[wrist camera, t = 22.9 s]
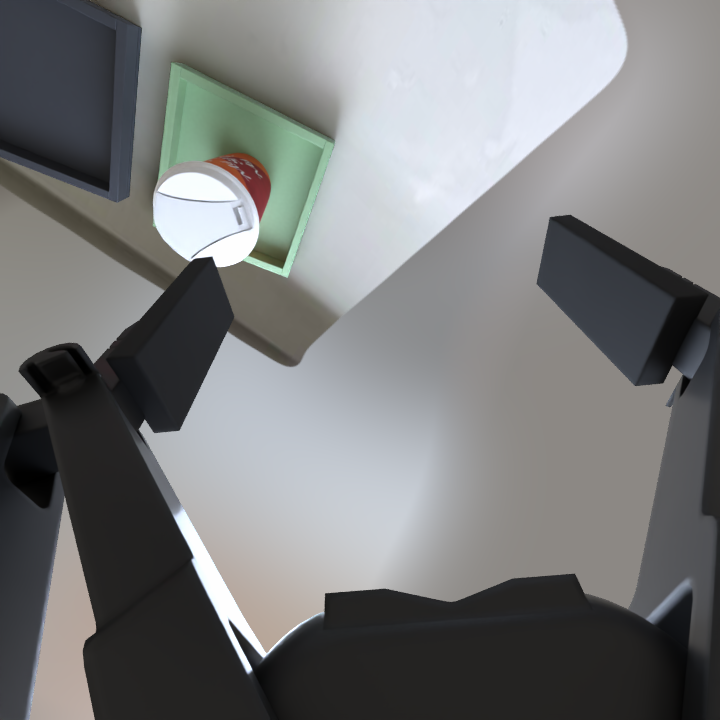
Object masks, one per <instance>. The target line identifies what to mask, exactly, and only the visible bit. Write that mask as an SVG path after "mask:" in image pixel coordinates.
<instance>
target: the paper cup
mask: <svg viewBox="0 0 720 720" xmlns="http://www.w3.org/2000/svg"><path fill="white" fill-rule="evenodd" d="M270 193H271V182H270V178H269V175H268V173H267V171H266V169H265V168H264V166H263V165H262V164H261V163H260V162H259V161H258V160H257V159H255V158H254V157H252V156H250V155H248V154H244V153H232V154H227V155H223V156H220V157H216V158H213V159H210V160H206V161H187V162H182V163H179V164H176V165H174V166H172V167H171V168H169V169H168V170H167V171H166V172H164V173H163V175H162V176H161V177H160V179H159V180H158V182H157V184H156V187H155V191H154V195H153V209H154V222H155V225H156V227H157V229H158V231H159V233H160V235H161V236H162V238H163V239H164V240H165V241H166V242H167V243H168V244H169V245H170V246H171V247H172V248H173V249H174V250H175V251H176V252H177V253H179V254H180V255H181V256H183V257H184V258H186V259H187V260H189V261H190V262H191V261H192V260H193V259H195V258H203V257H212V256H213V259H214V262H215V264H216V267H222V266H229V265H232V264H235V263H237V262H240V261H241V260H243V259H244V258H245V257H246V256H247V255H248V254H249V253H250V252H251V251H252V249H253V248H254V246H255V244H256V242H257V239H258V235H259V223H260V221H261V218H262V216H263V213H264V211H265V208H266V206H267V203H268V200H269V197H270Z"/></svg>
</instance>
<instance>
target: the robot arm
mask: <svg viewBox="0 0 720 720" xmlns="http://www.w3.org/2000/svg"><path fill="white" fill-rule="evenodd" d="M537 285H538V286H539V287H540V288H541V289H542V290H543V291H544V292H545V293H546V294H547V295H548V296H549V297H550V298H551V299H552V300H553V301H554V302H555V303H556V304H557V305H558V306H559V307H560V309H561V310H562V311H563V312H564V313H565V314H566V315H567V316H568V317H569V318H570V319H571V320H572V321H573V322H574V323H575V324H576V325H577V326H578V327H579V328H580V329H581V330H582V331H583V332H584V333H585V334H586V335H587V337H588V338H589V339H590V340H591V341H592V342H593V343H594V344H595V345H596V346H597V347H598V348H599V349H600V350H601V351H602V352H603V353H604V354H605V355H606V356H607V357H608V358H609V359H610V360H611V361H612V363H614V364H615V366H616V367H617V368H618V369H619V370H620V371H621V372H622V373H623V374H624V375H625V376H626V377H627V378H628V379H629V380H630V381H631V382H632V383H633V384H634V385H635V386H640V385H650V384H660V383H664V381H665V379H666V377H667V375H668V373H669V371H670V369H671V367H672V365H673V366H674V367H675V368H677V369H678V370H679V371H680V372H681V373H682V374H683V375H682V377H681V379H680V381H679V382H678V384H677V386H676V388H675V390H674V391H673V393H672V395H671V397H670V399H669V400H668V403H667V404H666V406H668V407H671V406H672V405H673V407H672V412H671V417H670V422H669V427H668V432H667V437H666V443H665V448H664V452H663V457H662V462H661V467H660V473H659V478H658V482H657V488H656V493H655V498H654V503H653V508H652V513H651V518H650V523H649V528H648V533H647V538H646V543H645V548H644V554H643V558H642V563H641V568H640V573H639V579H638V583H637V588H636V592H635V595H634V598H633V600H632V602H631V604H630V606H629V609H626V608H624V607H622V606H619V605H617V604H615V603H613V602H610V601H608V600H605V599H602V598H599V597H596V596H592V595H589V594H585V593H584V592H583V590H582V588H581V586H580V583H579V582H578V579H577V577H576V575H575V574H566V575H553V576H540V577H527V578H515V579H511V580H508V581H506V582H503V583H501V584H499V585H496V586H493V587H491V588H488V589H486V590H483V591H481V592H478V593H476V594H474V595H471V596H469V597H466V598H464V599H461V600H458V601H456V602H446V601H440V600H436V599H431V598H427V597H421V596H417V595H412V594H408V593H403V592H398V591H393V590H389V589H376V590H363V591H350V592H338V593H326V594H325V611H324V612H322V613H320V614H317V615H315V616H313V617H312V618H310V619H308V620H306V621H304V622H303V623H301V624H299V625H298V626H297V627H296V628H294V629H293V630H291V631H290V632H289V633H287V634H286V635H285V636H284V637H283V638H282V639H281V640H280V641H279V642H278V643H277V644H275V645H274V646H273V648H272V649H271V650H270V651H269V652H268V653H267V654H266V653H265V651H264V649H263V648H262V646H261V644H260V643H259V641H258V640H257V638H256V636H255V635H254V633H253V632H252V630H251V629H250V627H249V626H248V624H247V622H246V621H245V619H244V617H243V615H242V614H241V612H240V610H239V608H238V606H237V605H236V603H235V601H234V599H233V597H232V595H231V594H230V592H229V590H228V588H227V587H226V585H225V583H224V581H223V579H222V578H221V576H220V574H219V572H218V570H217V569H216V567H215V565H214V563H213V561H212V559H211V558H210V556H209V554H208V552H207V550H206V549H205V547H204V545H203V543H202V541H201V539H200V538H199V536H198V534H197V533H196V530H195V529H194V527H193V525H192V524H191V521H190V520H189V518H188V516H187V514H186V512H185V511H184V509H183V507H182V505H181V503H180V502H179V500H178V498H177V496H176V495H175V492H174V491H173V489H172V487H171V485H170V483H169V482H168V480H167V478H166V476H165V475H164V473H163V471H162V469H161V467H160V465H159V464H158V462H157V460H156V458H155V456H154V455H153V453H152V451H151V450H150V447H149V445H148V444H147V442H146V440H145V438H144V437H143V435H142V434H141V432H140V431H139V428H140V426H141V424H142V423H143V421H144V420H146V421H147V423H148V424H149V426H150V427H151V429H152V430H153V432H154V433H160V432H170V431H179V430H180V428H181V426H182V424H183V422H184V420H185V418H186V416H187V414H188V412H189V410H190V408H191V405H192V403H193V401H194V399H195V397H196V395H197V393H198V391H199V389H200V387H201V385H202V383H203V381H204V378H205V377H206V375H207V372H208V370H209V368H210V366H211V364H212V362H213V360H214V358H215V356H216V354H217V352H218V349H219V348H220V345H221V343H222V341H223V339H224V337H225V335H226V333H227V331H228V329H229V327H230V325H231V323H232V321H233V319H234V314H233V312H232V309H231V306H230V303H229V301H228V298H227V295H226V292H225V289H224V287H223V284H222V281H221V278H220V276H219V273H218V270H217V267H216V264H215V262H214V259H213V256H212V257H203V258H195V259H193V260H192V261H191V262H190V263H189V264H188V266H187V267H186V268H185V269H184V270H183V271H182V272H181V274H180V275H179V276H178V277H177V278H176V279H175V280H174V282H173V283H172V284H171V285H170V286H169V287H168V288H167V289H166V291H165V292H164V293H163V294H162V295H161V296H160V297H159V299H158V300H157V301H156V302H155V303H154V304H153V306H152V307H151V308H150V309H149V310H148V311H147V312H146V313H145V315H144V316H143V317H142V318H141V319H140V320H139V321H137V322H136V323H134V324H133V325H131V326H130V327H128V328H127V329H125V330H124V331H123V332H122V333H121V335H120V336H119V337H118V338H117V341H114V342H113V343H112V345H111V346H110V349H107V350H106V351H105V352H104V353H103V354H102V356H101V357H100V358H99V359H98V360H97V361H96V362H95V363H94V364H93V363H92V361H91V360H90V358H89V357H88V356H87V354H86V353H85V351H84V350H83V348H82V347H81V346H80V345H78V344H77V343H65V344H59V345H56V346H53V347H50V348H47V349H45V350H43V351H40V352H39V353H36V354H35V355H33V356H32V357H30V358H28V359H27V360H26V361H25V362H24V363H23V364H22V365H21V366H20V368H19V372H20V374H21V375H22V376H23V377H24V378H25V379H26V380H27V382H28V383H29V384H30V385H31V386H32V388H33V389H34V390H35V391H36V392H37V393H38V394H39V396H40V397H41V399H39V400H36V401H33V402H29V403H26V404H22V405H19V406H16V405H15V404H14V402H13V401H12V400H11V399H10V398H9V397H8V396H7V395H5V394H0V720H29V717H30V711H31V705H32V698H33V691H34V686H35V679H36V673H37V667H38V660H39V654H40V648H41V641H42V635H43V629H44V623H45V616H46V610H47V603H48V597H49V591H50V585H51V578H52V572H53V565H54V559H55V553H56V547H57V540H58V534H59V528H60V521H61V514H62V509H63V502H64V496H65V498H66V503H67V507H68V511H69V515H70V519H71V523H72V527H73V531H74V535H75V539H76V543H77V547H78V551H79V556H80V560H81V564H82V568H83V572H84V576H85V580H86V584H87V588H88V592H89V597H90V601H91V605H92V609H93V613H94V617H95V621H96V633H95V634H93V635H92V636H91V637H89V638H88V639H87V640H86V641H85V644H84V648H83V659H84V668H85V673H86V678H87V683H88V688H89V693H90V697H91V703H92V708H93V712H94V717H95V720H720V298H719V297H718V296H716V295H714V294H712V293H710V292H709V291H707V290H705V289H703V288H702V287H700V286H698V285H696V284H693V282H691V281H689V280H688V279H686V278H682V276H681V275H679V274H677V273H675V272H673V271H672V270H670V269H668V268H664V267H661V266H658V265H657V264H655V263H653V262H652V261H650V260H648V259H646V258H645V257H643V256H641V255H639V254H638V253H636V252H634V251H632V250H631V249H629V248H627V247H625V246H624V245H622V244H620V243H618V242H617V241H615V240H613V239H612V238H610V237H608V236H606V235H605V234H603V233H601V232H599V231H597V230H596V229H594V228H592V227H591V226H589V225H587V224H585V223H584V222H582V221H580V220H578V219H577V218H575V217H573V216H572V215H565V216H556V217H550V219H549V225H548V230H547V234H546V239H545V244H544V249H543V254H542V259H541V264H540V269H539V274H538V279H537Z"/></svg>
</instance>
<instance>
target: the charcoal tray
mask: <svg viewBox="0 0 720 720" xmlns="http://www.w3.org/2000/svg"><path fill="white" fill-rule="evenodd" d="M141 31H142V28H141V27H139V26H137V25H135V24H133V23H131V22H129V21H127V20H125V19H123V18H121V17H119V16H118V15H116V14H114V13H112V12H110V11H108V10H106V9H104V8H102V7H100V6H98V5H96V4H94V3H92V2H90V1H89V0H0V157H2V158H4V159H7V160H9V161H12V162H15V163H17V164H20V165H22V166H25V167H27V168H30V169H33V170H35V171H38V172H40V173H43V174H45V175H48V176H51V177H53V178H56V179H58V180H61V181H63V182H66V183H68V184H71V185H74V186H76V187H79V188H81V189H84V190H86V191H89V192H92V193H94V194H97V195H99V196H102V197H104V198H107V199H109V200H112V201H114V202H119V201H121V200H123V199H125V198H127V197H129V192H130V179H131V165H132V152H133V138H134V125H135V112H136V98H137V85H138V71H139V58H140V44H141Z"/></svg>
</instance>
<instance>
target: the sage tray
mask: <svg viewBox="0 0 720 720" xmlns="http://www.w3.org/2000/svg"><path fill="white" fill-rule="evenodd" d="M334 144H335V140H333V139H331V138H329V137H327V136H325V135H323V134H321V133H319V132H317V131H315V130H313V129H311V128H309V127H307V126H305V125H303V124H301V123H299V122H297V121H295V120H293V119H291V118H289V117H287V116H285V115H283V114H281V113H279V112H277V111H275V110H273V109H271V108H269V107H268V106H266V105H264V104H262V103H260V102H258V101H256V100H254V99H252V98H250V97H248V96H246V95H244V94H242V93H240V92H238V91H236V90H234V89H232V88H230V87H228V86H226V85H224V84H222V83H220V82H218V81H216V80H214V79H212V78H210V77H208V76H206V75H204V74H202V73H200V72H198V71H196V70H195V69H193V68H191V67H189V66H187V65H185V64H183V63H175V62H171V70H170V79H169V88H168V96H167V105H166V114H165V123H164V131H163V140H162V149H161V158H160V166H159V175H158V180H159V179H160V177H161V176H162V175H163V173H164V172H166V171H167V170H168V169H169V168H171V167H172V166H174V165H176V164H179V163H182V162H187V161H206V160H210V159H213V158H216V157H220V156H223V155H227V154H232V153H244V154H248V155H250V156H252V157H254V158H255V159H257V160H258V161H259V162H260V163H261V164H262V165H263V166H264V168H265V169H266V171H267V173H268V175H269V178H270V182H271V193H270V197H269V200H268V203H267V206H266V208H265V211H264V213H263V216H262V218H261V221H260V223H259V235H258V239H257V242H256V244H255V246H254V248H253V249H252V251H251V252H250V253H249V254H248V255H247V256H246V257H245V258H244V259H243V261H246V262H248V263H251V264H253V265H256V266H259V267H261V268H264V269H266V270H269V271H272V272H274V273H277V274H280V275H282V276H285V277H288V275H289V272H290V269H291V266H292V264H293V261H294V258H295V255H296V252H297V249H298V247H299V244H300V241H301V238H302V235H303V232H304V230H305V227H306V224H307V221H308V218H309V215H310V213H311V210H312V207H313V204H314V201H315V198H316V196H317V193H318V190H319V187H320V184H321V181H322V179H323V176H324V173H325V170H326V167H327V164H328V162H329V159H330V156H331V153H332V150H333V147H334ZM153 226H154V227H156V225H155V222H154V219H153Z"/></svg>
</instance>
